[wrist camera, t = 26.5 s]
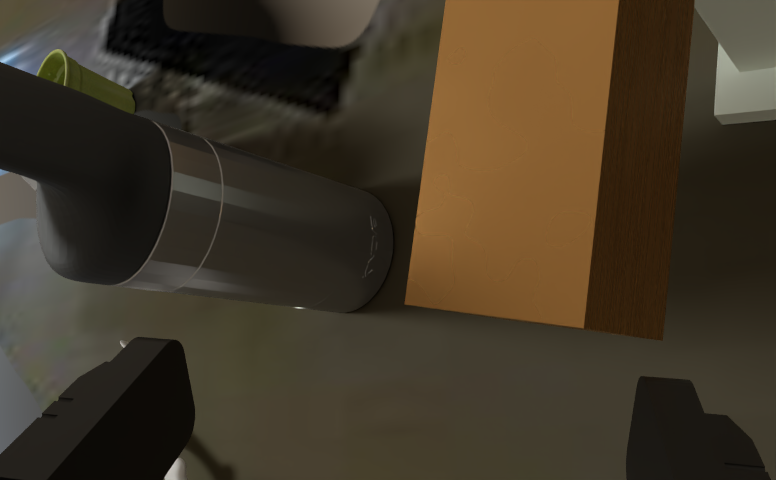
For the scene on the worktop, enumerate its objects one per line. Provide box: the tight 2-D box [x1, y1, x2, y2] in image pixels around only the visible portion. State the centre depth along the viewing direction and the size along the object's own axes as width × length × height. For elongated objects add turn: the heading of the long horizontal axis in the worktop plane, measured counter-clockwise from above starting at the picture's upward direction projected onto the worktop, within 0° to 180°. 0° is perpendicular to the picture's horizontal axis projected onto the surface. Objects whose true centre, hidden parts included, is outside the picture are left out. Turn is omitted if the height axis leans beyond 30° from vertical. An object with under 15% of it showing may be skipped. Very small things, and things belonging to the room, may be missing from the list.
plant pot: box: [37, 49, 135, 114], centre depth 73 cm, size 9×9×9 cm
